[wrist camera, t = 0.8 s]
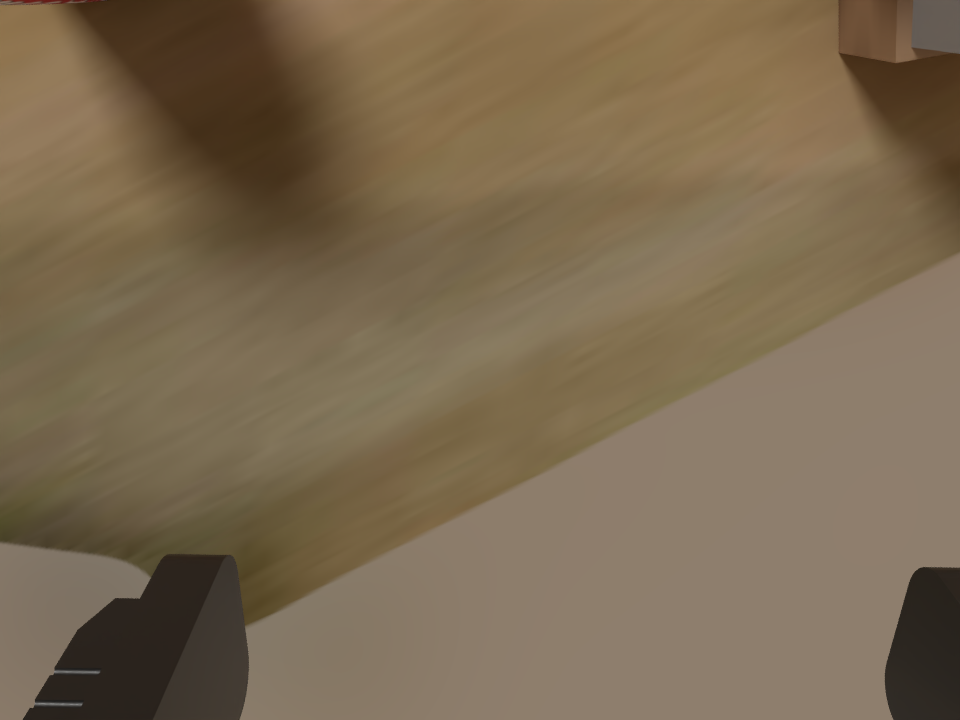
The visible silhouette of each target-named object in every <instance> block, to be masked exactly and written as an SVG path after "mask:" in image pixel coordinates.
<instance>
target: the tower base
mask: <svg viewBox="0 0 960 720" xmlns="http://www.w3.org/2000/svg"><path fill="white" fill-rule="evenodd" d="M912 19H913V0H839V53H843V54H848V55H854V56H859V57H865V58H870V59H876V60H881V61H887V62H893V63H899V62H905V61H911V60H916V59H922V58H928V57H934V56H940V55H945V54H951V53H950V52H943V51H935V50H928V49H921V48H913V47H911V45H912Z"/></svg>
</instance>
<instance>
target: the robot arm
mask: <svg viewBox="0 0 960 720" xmlns="http://www.w3.org/2000/svg"><path fill="white" fill-rule="evenodd" d="M248 671H249V657H248V647H247V640H246V632H245V624H244V616H243V608H242V601H241V593H240V585H239V578H238V570H237V565H236V562H235V559H234V558H233V556H231V555H193V554H167V555H166V556H164V557H163V558H162V560H161V561H160V563H159V564H158V566H157V568H156V570H155V572H154V574H153V575H152V577H151V579H150V581H149V583H148V585H147V587H146V589H145V590H144V592H143V594H142V596H141V598H140V599H129V598H115V599H114V600H113V601H112V602H110V603H109V604H108V605H107V606H106V607H104V608H103V609H102V610H101V611H100V612H99V613H97V614H96V615H95V616H94V617H93V618H91V619H90V620H89V621H88V622H87V623H85V624H84V625H83V626H82V627H81V628H80V629H78V630H77V632H76V634H75V635H74V637H73V638H72V640H71V642H70V643H69V645H68V647H67V649H66V650H65V651H64V653H63V655H62V656H61V658H60V660H59V661H58V663H57V665H56V666H55V672H54V675H50V676H49V678H48V679H47V681H46V683H45V684H44V686H43V687H42V689H41V691H40V692H39V694H38V696H37V697H36V699H35V705H34V708H30V709H29V710H28V712H27V713H26V715H25V717H24V718H23V720H239V719H240V716H241V713H242V710H243V706H244V702H245V697H246V691H247V684H248ZM885 689H886V696H887V701H888V705H889V709H890V712H891V715H892V717H893V719H894V720H960V568H942V567H938V568H937V567H923V568H919V569H918V570H916V571H915V572H914V574H913V575H912V577H911V579H910V582H909V585H908V589H907V593H906V596H905V600H904V603H903V607H902V610H901V614H900V617H899V621H898V624H897V628H896V631H895V635H894V639H893V642H892V646H891V649H890V653H889V656H888V660H887V664H886V669H885Z"/></svg>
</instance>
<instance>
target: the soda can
mask: <svg viewBox="0 0 960 720" xmlns="http://www.w3.org/2000/svg"><path fill="white" fill-rule="evenodd" d="M95 1H105V0H0V5H33V4H63V3H82V2H95Z"/></svg>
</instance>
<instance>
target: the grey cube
mask: <svg viewBox="0 0 960 720" xmlns="http://www.w3.org/2000/svg"><path fill="white" fill-rule="evenodd" d="M911 47H913V48H921V49H928V50H935V51H943V52H950V53H958V54H960V0H913V19H912V45H911Z"/></svg>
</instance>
